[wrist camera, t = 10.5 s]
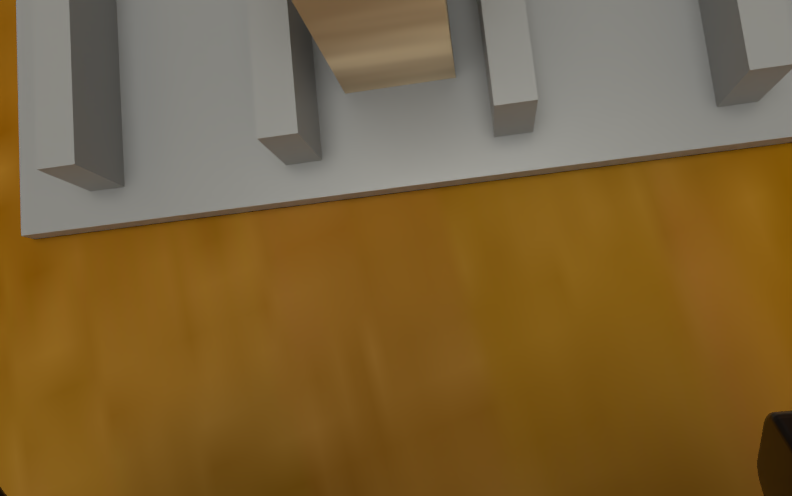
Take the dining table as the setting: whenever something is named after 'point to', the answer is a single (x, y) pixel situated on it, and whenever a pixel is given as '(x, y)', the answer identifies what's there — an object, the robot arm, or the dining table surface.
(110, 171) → the slotted rack
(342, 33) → the birch block
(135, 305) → the dining table surface
